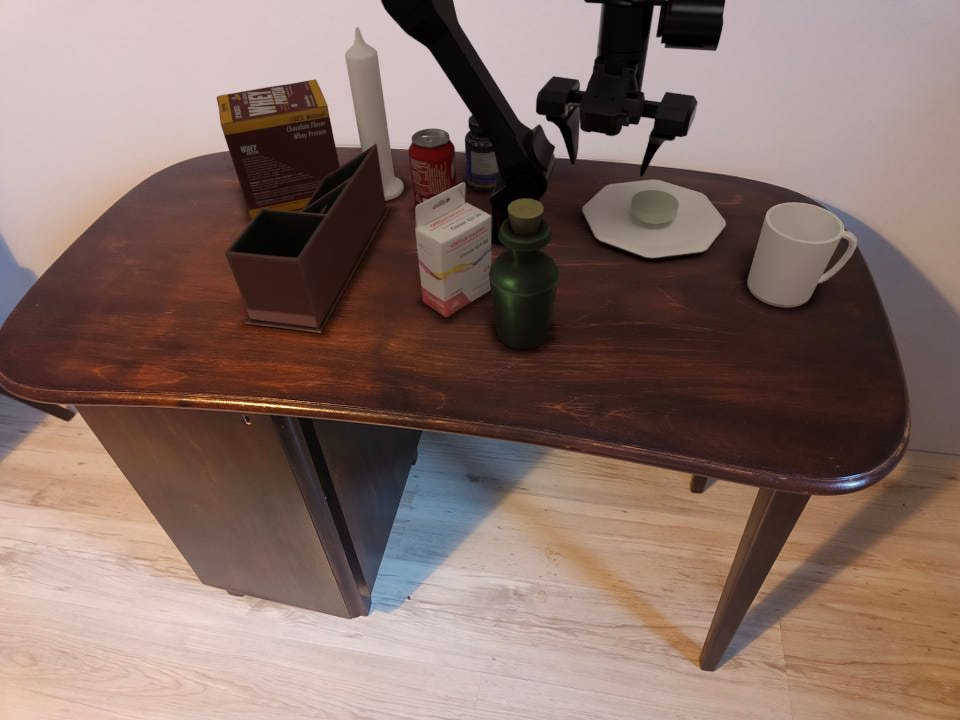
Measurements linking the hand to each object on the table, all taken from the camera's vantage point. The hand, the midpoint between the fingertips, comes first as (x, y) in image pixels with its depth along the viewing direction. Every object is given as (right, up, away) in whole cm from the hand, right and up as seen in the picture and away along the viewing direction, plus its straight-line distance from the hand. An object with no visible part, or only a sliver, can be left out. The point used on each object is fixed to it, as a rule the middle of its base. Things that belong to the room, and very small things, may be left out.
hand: (607, 169), depth 84 cm
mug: (+24, -16, 0) cm, 29 cm away
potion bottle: (-11, -22, -4) cm, 25 cm away
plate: (+9, -5, +12) cm, 16 cm away
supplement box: (-47, +2, +21) cm, 52 cm away
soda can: (-24, -2, +16) cm, 29 cm away
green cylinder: (+9, -4, +11) cm, 14 cm away
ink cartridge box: (-20, -17, +1) cm, 26 cm away
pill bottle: (-16, +4, +22) cm, 27 cm away
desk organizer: (-39, -11, +8) cm, 41 cm away
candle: (-33, +3, +21) cm, 39 cm away
